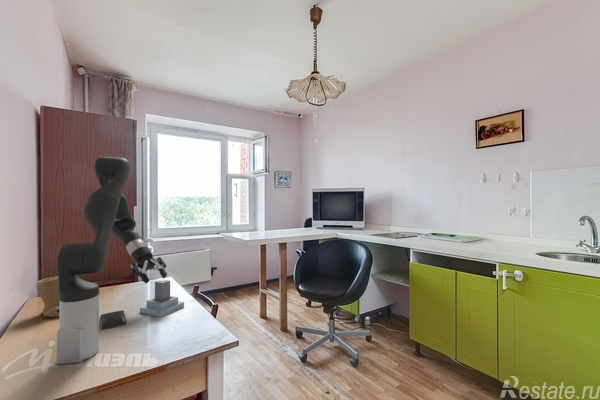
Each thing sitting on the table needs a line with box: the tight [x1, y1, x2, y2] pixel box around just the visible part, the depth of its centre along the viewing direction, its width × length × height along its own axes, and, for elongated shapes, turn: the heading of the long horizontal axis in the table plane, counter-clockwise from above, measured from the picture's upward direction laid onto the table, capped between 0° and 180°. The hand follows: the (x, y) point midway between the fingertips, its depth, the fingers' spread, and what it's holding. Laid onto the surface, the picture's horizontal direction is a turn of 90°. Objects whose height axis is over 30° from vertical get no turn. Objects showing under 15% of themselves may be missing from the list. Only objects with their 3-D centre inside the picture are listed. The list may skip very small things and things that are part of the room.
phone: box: [99, 310, 127, 331], centre depth 105 cm, size 8×1×15 cm
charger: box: [154, 279, 171, 302], centre depth 116 cm, size 4×4×10 cm
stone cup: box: [36, 275, 60, 318], centre depth 113 cm, size 15×12×15 cm
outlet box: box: [139, 295, 185, 318], centre depth 116 cm, size 12×12×4 cm
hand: (156, 279), depth 117 cm, fingers open, 8 cm apart
